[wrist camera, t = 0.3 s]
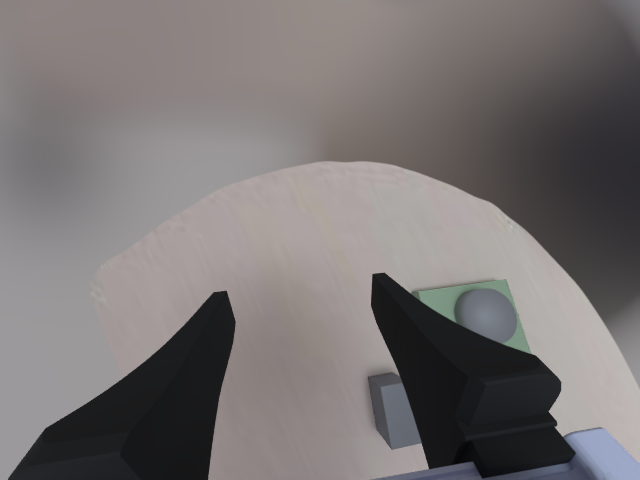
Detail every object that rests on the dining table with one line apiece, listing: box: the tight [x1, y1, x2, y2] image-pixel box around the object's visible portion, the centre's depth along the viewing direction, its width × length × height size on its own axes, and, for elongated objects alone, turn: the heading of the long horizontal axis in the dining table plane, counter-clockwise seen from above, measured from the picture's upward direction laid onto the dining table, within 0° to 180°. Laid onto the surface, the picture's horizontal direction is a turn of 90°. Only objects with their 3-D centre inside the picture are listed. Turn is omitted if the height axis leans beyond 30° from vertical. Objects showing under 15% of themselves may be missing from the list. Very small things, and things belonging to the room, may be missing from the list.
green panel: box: [412, 279, 531, 354], centre depth 39 cm, size 24×18×6 cm
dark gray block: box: [368, 373, 422, 450], centre depth 36 cm, size 7×4×6 cm, turn 8°
